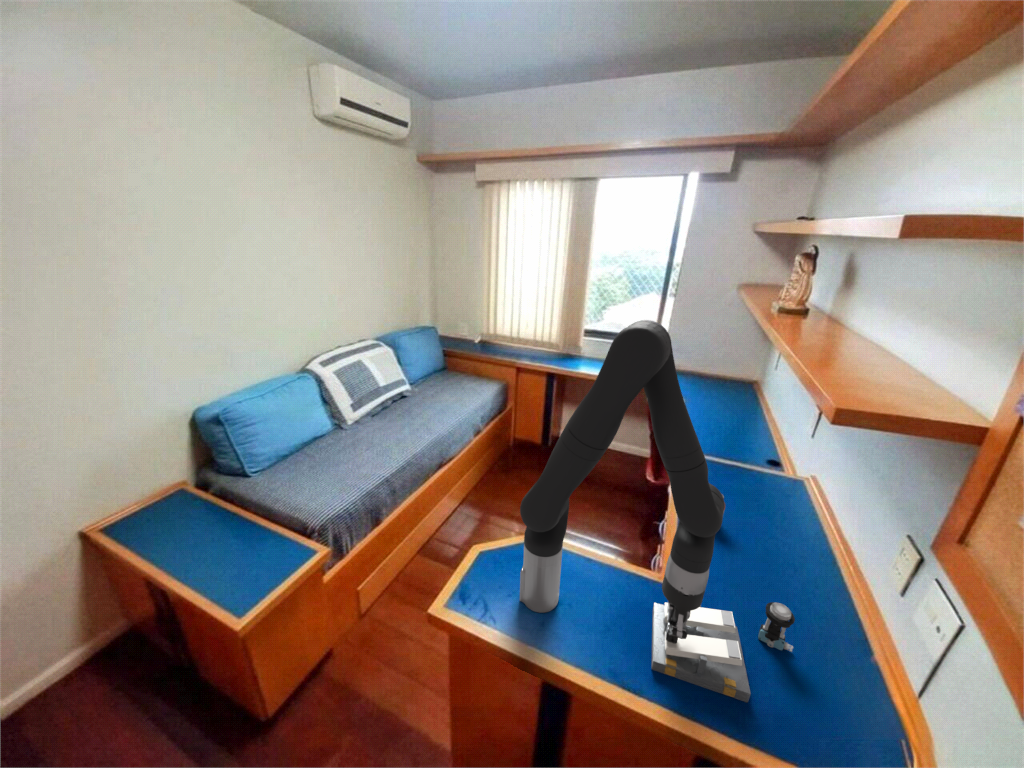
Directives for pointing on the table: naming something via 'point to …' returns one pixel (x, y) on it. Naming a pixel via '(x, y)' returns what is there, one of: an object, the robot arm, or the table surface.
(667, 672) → the switch unit
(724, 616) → the rocker back
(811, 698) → the table surface
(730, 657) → the rocker front
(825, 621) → the table surface
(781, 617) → the push button
